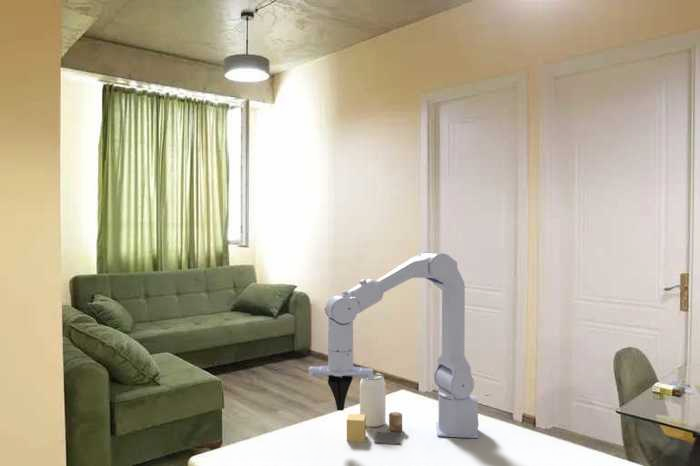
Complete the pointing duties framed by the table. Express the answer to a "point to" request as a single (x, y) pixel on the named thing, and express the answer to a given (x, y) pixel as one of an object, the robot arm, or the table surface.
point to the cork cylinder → (395, 422)
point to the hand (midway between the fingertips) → (340, 409)
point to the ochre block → (356, 427)
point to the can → (373, 400)
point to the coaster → (388, 438)
